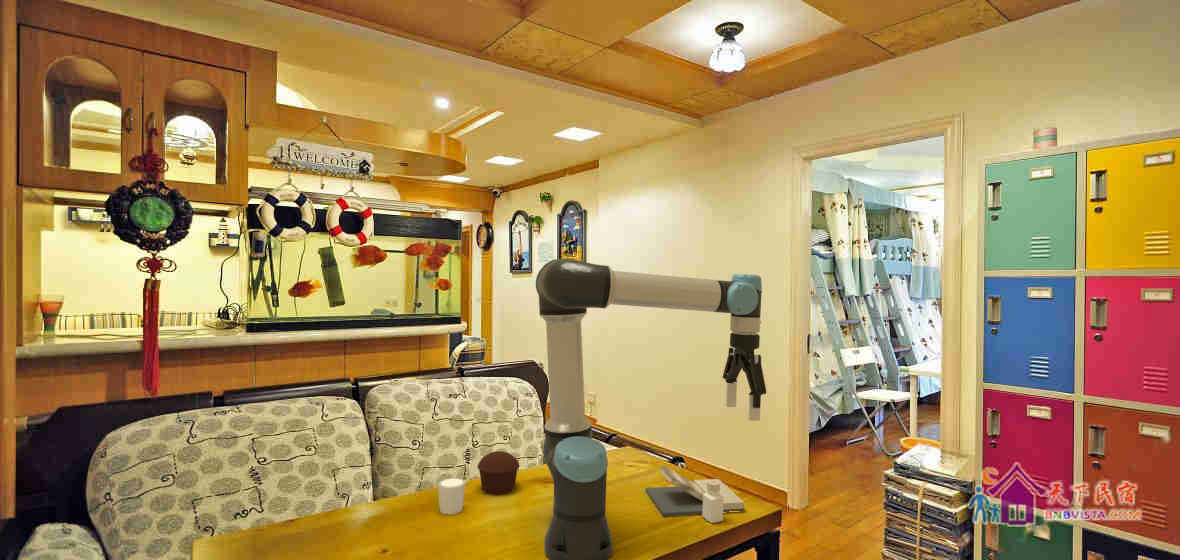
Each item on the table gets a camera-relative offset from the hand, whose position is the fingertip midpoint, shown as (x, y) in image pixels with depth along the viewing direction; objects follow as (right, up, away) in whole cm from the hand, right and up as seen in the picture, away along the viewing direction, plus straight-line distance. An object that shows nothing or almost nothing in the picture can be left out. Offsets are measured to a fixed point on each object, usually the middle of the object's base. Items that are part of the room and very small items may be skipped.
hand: (741, 413), depth 142 cm
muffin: (-66, -24, +10) cm, 71 cm away
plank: (-15, -21, +4) cm, 26 cm away
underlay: (-12, -25, +5) cm, 28 cm away
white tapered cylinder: (-76, -24, -4) cm, 79 cm away
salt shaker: (-9, -26, -6) cm, 28 cm away
